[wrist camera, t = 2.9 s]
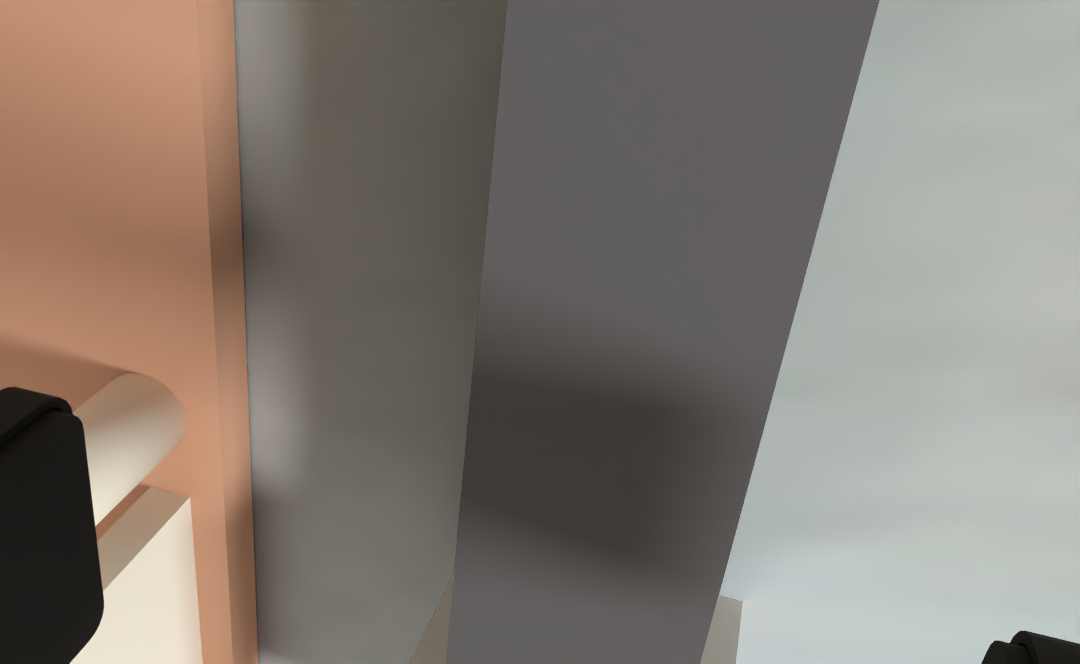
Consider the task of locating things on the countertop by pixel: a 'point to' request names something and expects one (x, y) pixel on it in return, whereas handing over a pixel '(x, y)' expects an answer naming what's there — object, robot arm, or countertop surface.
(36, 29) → the orange peg rack
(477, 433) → the grey post with base
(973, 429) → the countertop surface
